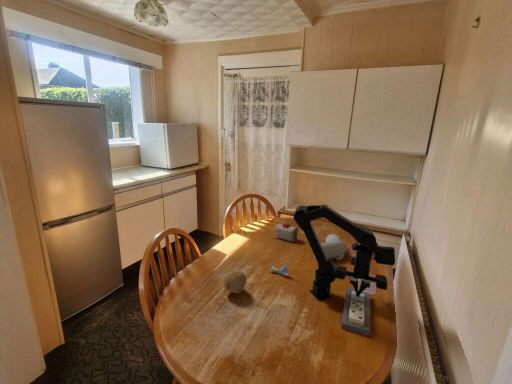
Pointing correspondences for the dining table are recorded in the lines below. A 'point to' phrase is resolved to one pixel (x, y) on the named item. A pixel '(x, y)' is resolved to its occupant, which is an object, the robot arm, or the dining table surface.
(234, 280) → the natural sponge
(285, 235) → the white box
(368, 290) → the mobile phone
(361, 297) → the one dot key
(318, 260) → the robot arm
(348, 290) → the grey flat block
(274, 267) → the dinosaur figurine
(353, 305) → the three dot key
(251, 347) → the dining table surface
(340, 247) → the elbow connector
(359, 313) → the two dot key
